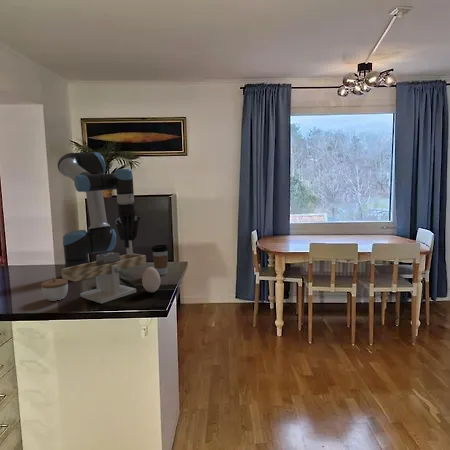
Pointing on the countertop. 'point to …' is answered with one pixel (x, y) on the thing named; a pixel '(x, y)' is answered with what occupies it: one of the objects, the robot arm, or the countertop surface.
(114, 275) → the stand
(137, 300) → the countertop surface
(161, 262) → the coffee cup
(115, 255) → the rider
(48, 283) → the lidded jar
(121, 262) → the beam
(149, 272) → the egg
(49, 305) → the countertop surface
